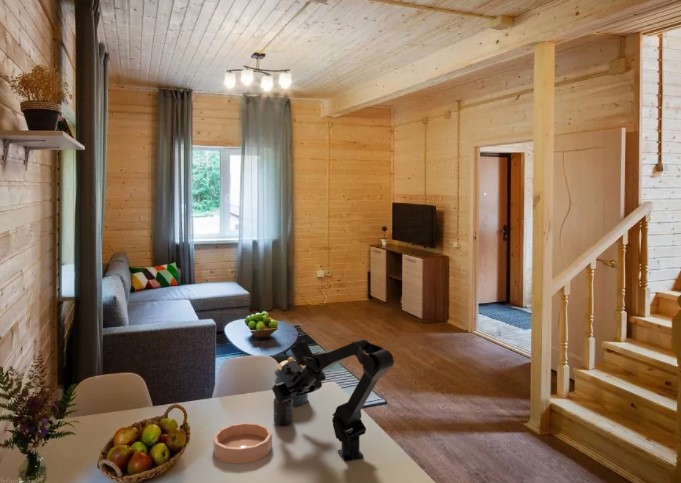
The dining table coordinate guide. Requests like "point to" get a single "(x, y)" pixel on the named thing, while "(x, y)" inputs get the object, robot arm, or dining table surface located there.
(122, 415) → the dining table surface
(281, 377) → the canister
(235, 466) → the dining table surface
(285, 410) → the supplement bottle
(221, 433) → the terracotta bowl
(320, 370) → the robot arm
